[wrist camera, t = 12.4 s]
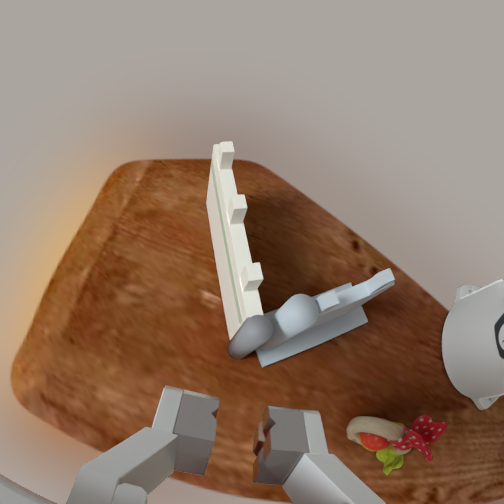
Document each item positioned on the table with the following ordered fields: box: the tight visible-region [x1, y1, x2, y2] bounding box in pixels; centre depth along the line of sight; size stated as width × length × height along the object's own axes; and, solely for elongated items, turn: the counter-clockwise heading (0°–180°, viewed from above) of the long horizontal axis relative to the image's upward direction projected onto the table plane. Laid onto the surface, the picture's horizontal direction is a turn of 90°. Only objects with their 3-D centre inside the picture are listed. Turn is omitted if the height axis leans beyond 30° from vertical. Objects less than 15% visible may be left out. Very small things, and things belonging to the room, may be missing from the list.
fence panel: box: [206, 142, 273, 359], centre depth 29 cm, size 18×2×12 cm, turn 11°
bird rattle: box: [347, 415, 448, 475], centre depth 25 cm, size 6×11×9 cm
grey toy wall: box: [255, 268, 395, 367], centre depth 28 cm, size 13×5×12 cm, turn 111°
